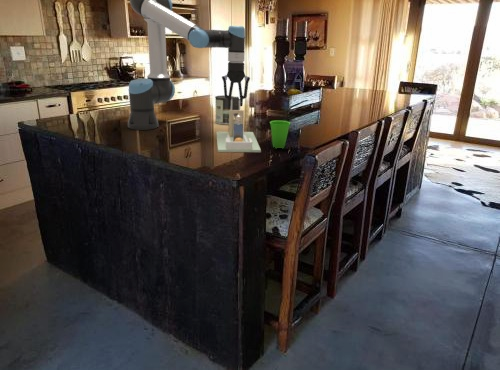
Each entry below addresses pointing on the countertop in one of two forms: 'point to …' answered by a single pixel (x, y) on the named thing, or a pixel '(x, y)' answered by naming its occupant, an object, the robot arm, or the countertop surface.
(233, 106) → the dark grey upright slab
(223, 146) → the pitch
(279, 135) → the cup
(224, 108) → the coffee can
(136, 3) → the robot arm
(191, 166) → the countertop surface
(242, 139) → the ball
